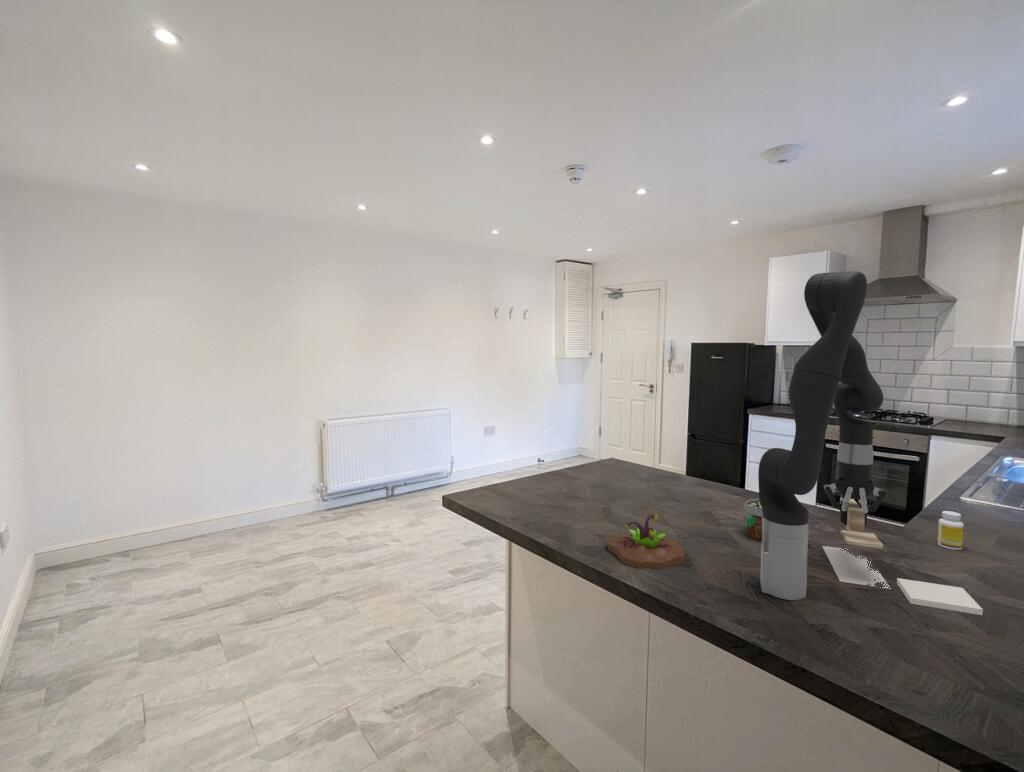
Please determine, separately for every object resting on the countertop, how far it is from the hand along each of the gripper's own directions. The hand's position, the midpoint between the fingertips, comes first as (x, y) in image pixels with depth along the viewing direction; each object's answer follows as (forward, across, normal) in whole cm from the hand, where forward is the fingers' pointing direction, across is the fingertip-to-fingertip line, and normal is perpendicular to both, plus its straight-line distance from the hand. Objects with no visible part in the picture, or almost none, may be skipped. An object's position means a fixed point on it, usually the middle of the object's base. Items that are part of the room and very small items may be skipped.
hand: (852, 524), depth 127 cm
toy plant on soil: (+11, -50, -13) cm, 53 cm away
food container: (+10, -22, +12) cm, 28 cm away
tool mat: (+10, 0, -2) cm, 11 cm away
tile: (+10, +13, -10) cm, 19 cm away
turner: (+1, 0, -2) cm, 3 cm away
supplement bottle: (+11, +28, +23) cm, 37 cm away
